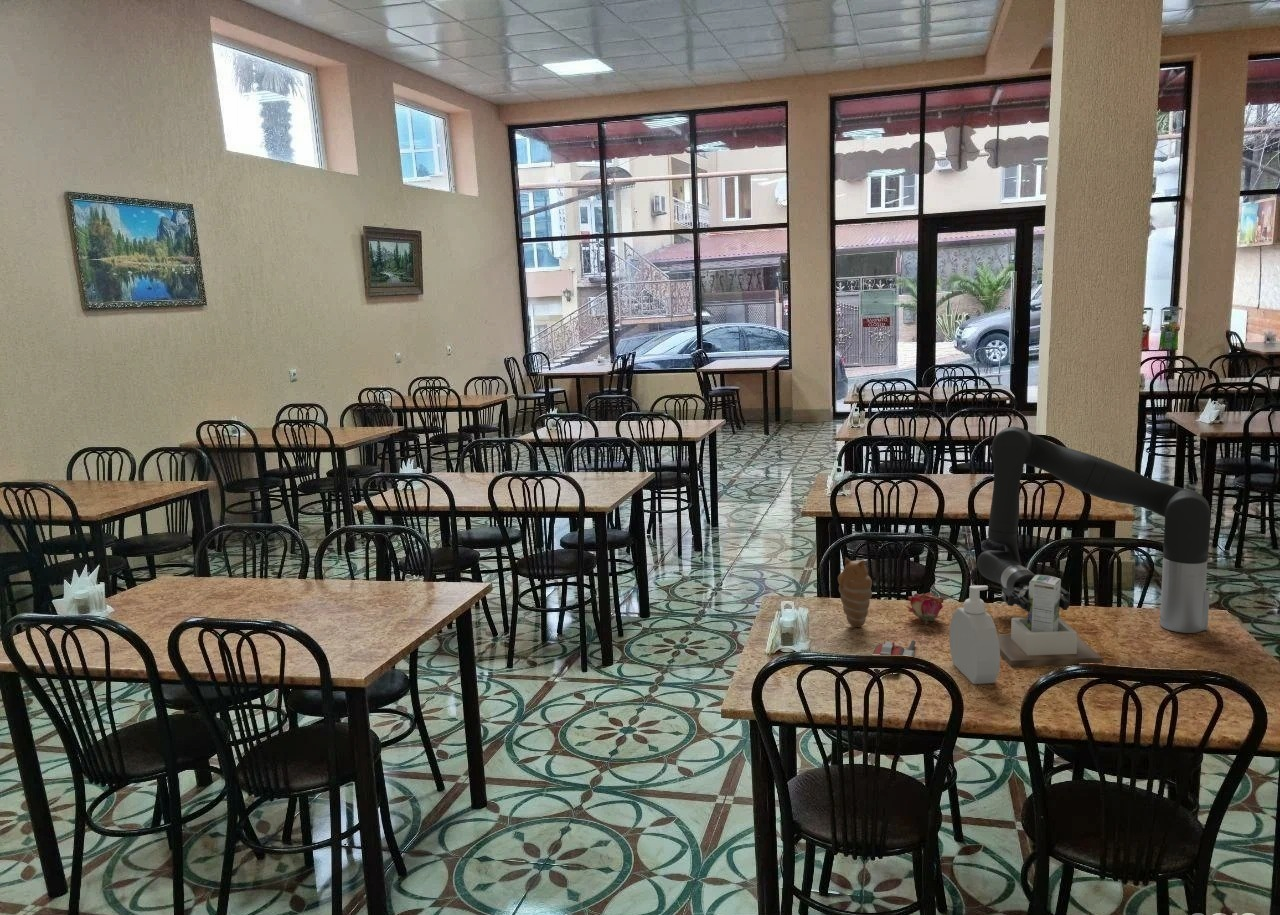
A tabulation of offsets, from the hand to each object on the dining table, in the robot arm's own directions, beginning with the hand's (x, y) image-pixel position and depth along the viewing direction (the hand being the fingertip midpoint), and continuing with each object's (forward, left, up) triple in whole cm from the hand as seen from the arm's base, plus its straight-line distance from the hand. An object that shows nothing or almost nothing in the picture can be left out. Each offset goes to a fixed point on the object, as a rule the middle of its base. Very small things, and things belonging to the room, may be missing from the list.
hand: (1047, 606), depth 213 cm
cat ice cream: (+39, -22, -12) cm, 46 cm away
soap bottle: (+19, +9, -12) cm, 24 cm away
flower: (+21, -25, -12) cm, 35 cm away
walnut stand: (0, -2, -12) cm, 12 cm away
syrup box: (0, -2, -9) cm, 9 cm away
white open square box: (0, -2, -10) cm, 10 cm away
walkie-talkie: (+35, 0, -12) cm, 37 cm away
